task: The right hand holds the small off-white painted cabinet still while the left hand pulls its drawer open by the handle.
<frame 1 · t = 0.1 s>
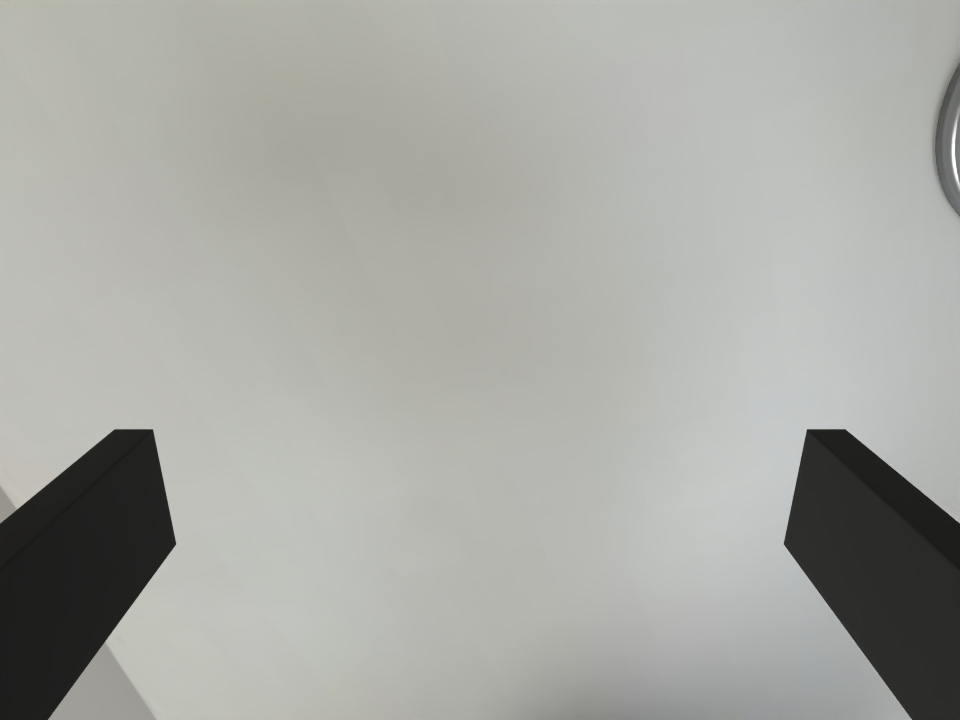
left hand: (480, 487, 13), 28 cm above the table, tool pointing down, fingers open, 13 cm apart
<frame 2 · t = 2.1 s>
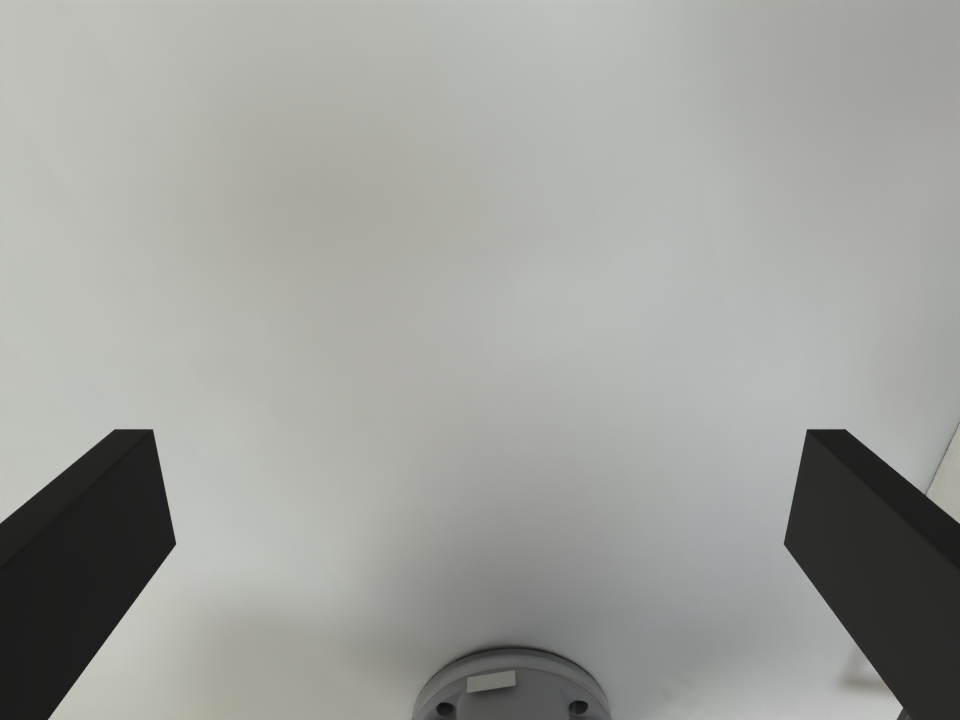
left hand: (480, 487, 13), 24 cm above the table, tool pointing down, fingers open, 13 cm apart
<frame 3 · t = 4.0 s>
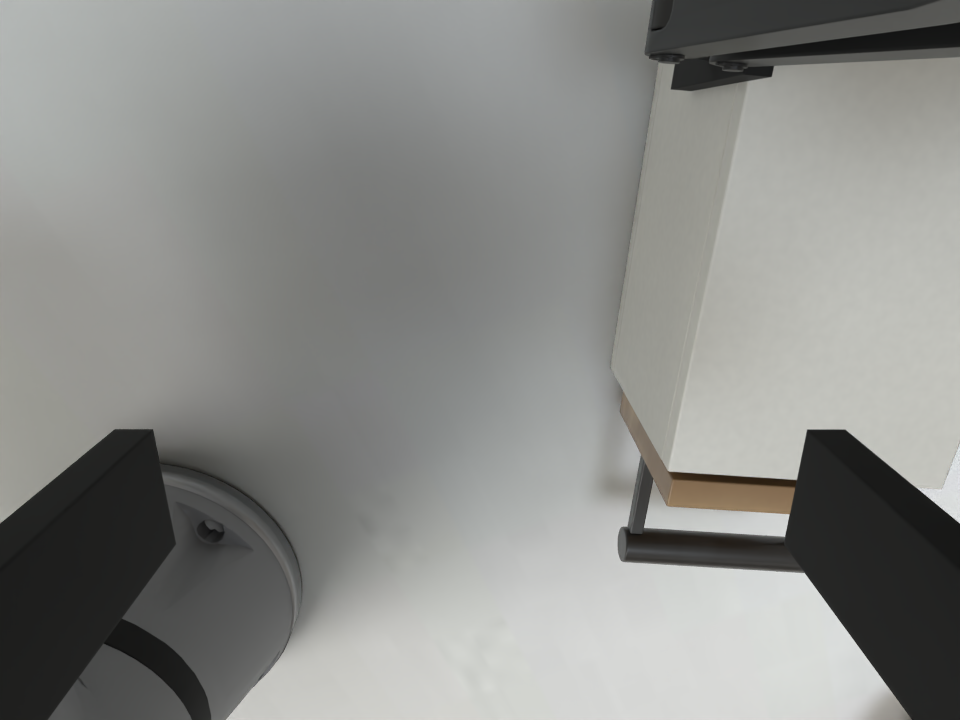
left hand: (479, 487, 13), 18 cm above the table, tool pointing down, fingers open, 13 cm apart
drawer: (765, 345, 26), point 5 cm above the table, slide at 0.8 cm
cabinet: (745, 196, 29), on the table, touching right hand
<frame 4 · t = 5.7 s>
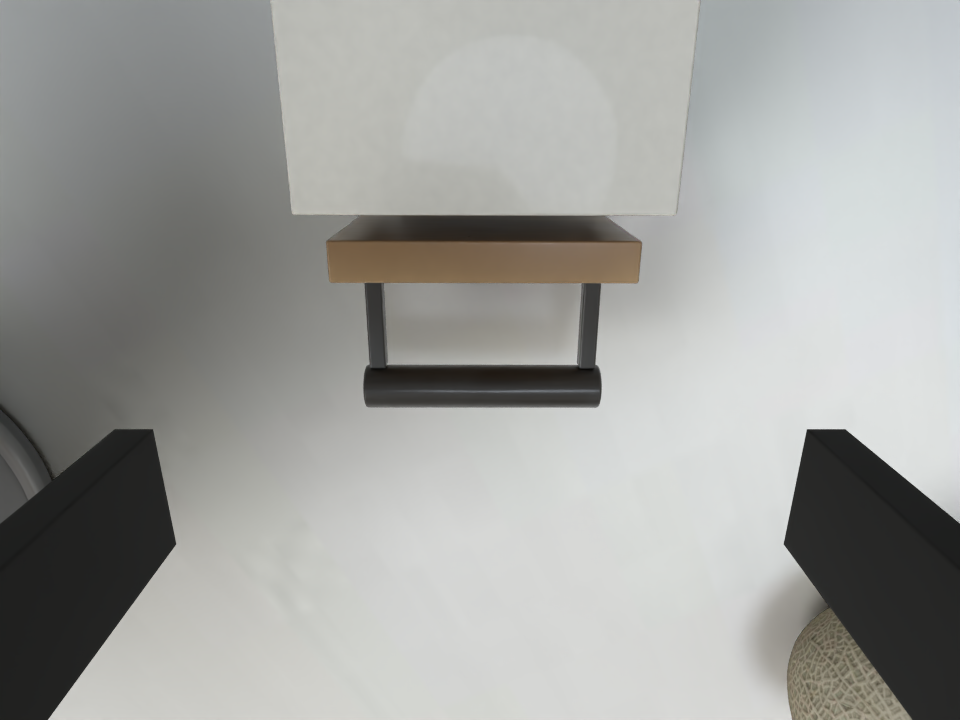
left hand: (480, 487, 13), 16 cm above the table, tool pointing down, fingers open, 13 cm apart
drawer: (483, 85, 20), point 5 cm above the table, slide at 0.8 cm
fruit: (844, 634, 34), on the table
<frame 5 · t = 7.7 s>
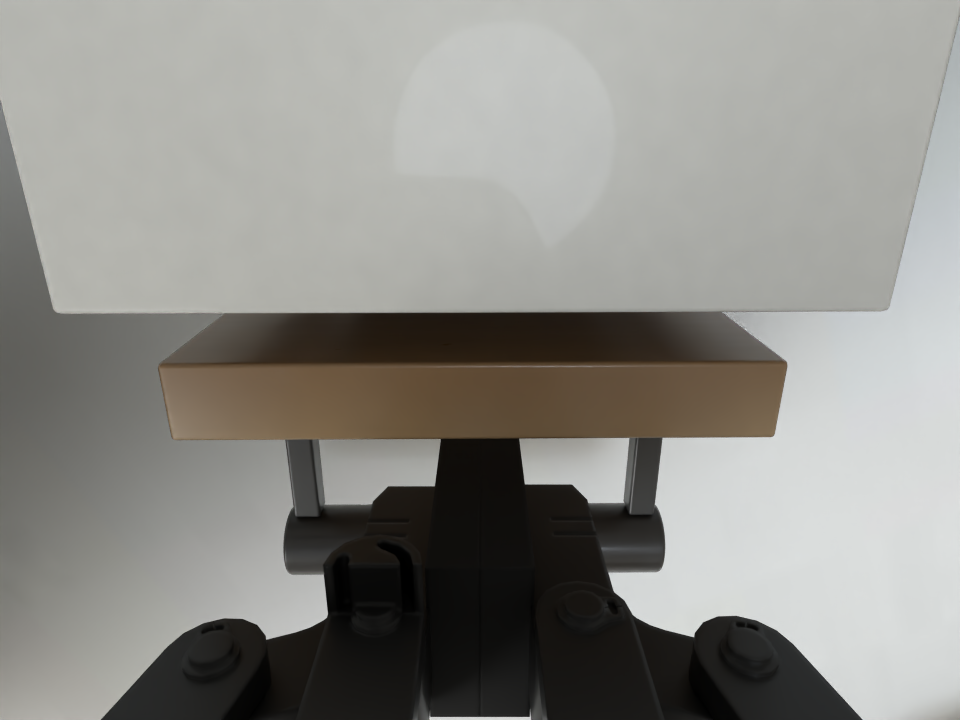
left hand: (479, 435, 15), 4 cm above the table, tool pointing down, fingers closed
drawer: (473, 58, 11), point 5 cm above the table, slide at 1.0 cm
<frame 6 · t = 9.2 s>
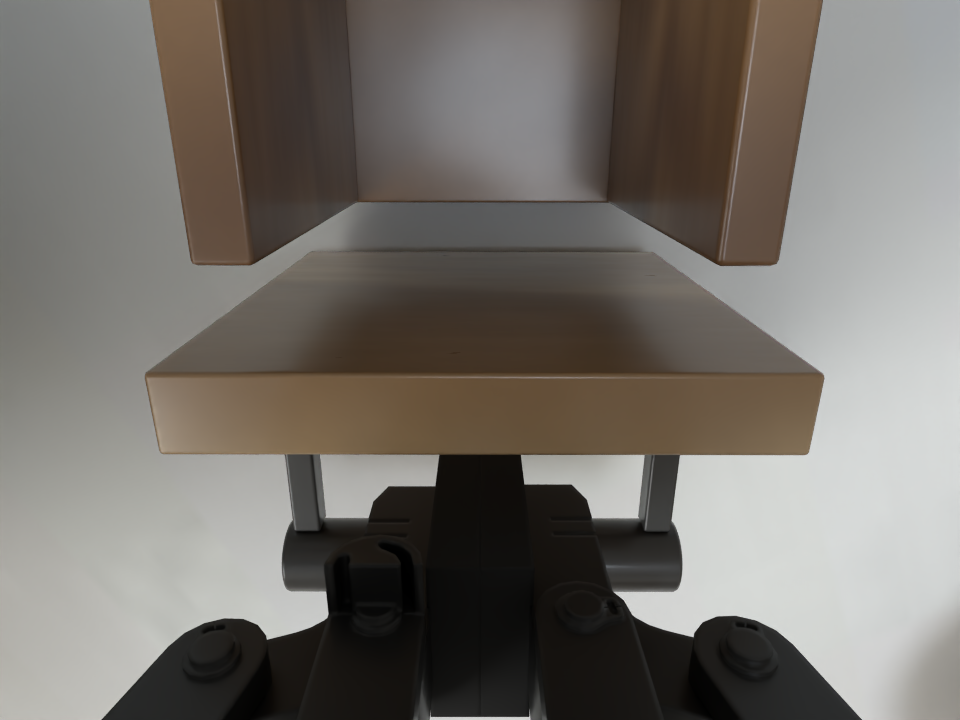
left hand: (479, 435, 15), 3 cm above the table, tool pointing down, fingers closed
drawer: (484, 49, 10), point 5 cm above the table, slide at 8.0 cm, touching left hand
when the right hand's fingers open (5 cm above the table, at t = 11.0 s): cabinet stays where it is, on the table.
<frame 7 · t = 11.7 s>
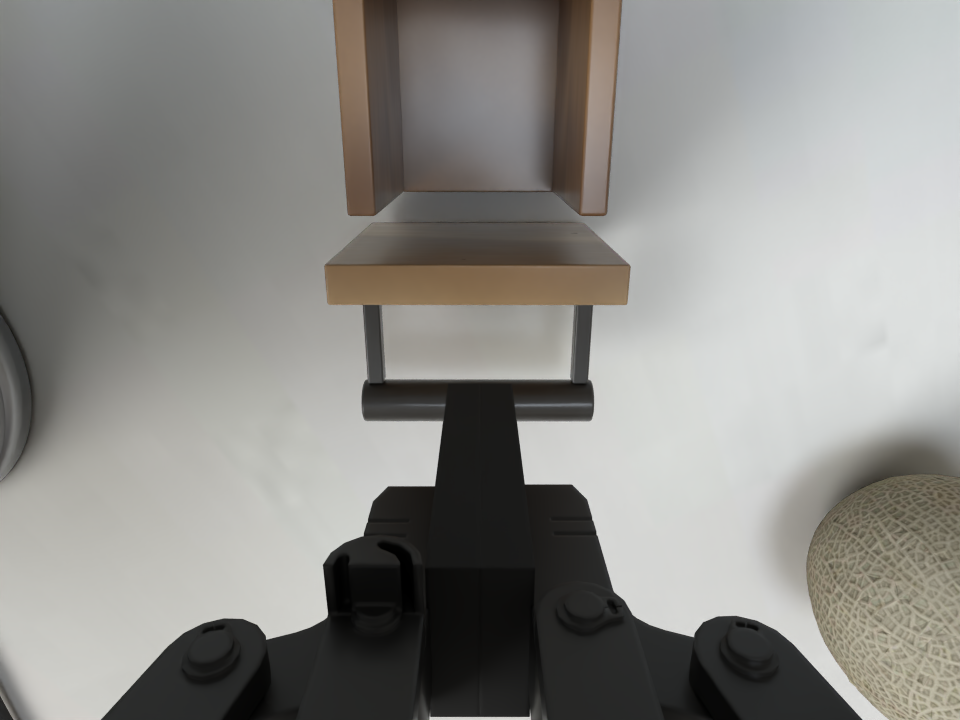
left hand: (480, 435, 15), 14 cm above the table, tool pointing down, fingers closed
drawer: (477, 111, 20), point 5 cm above the table, slide at 8.0 cm
fruit: (866, 530, 32), on the table
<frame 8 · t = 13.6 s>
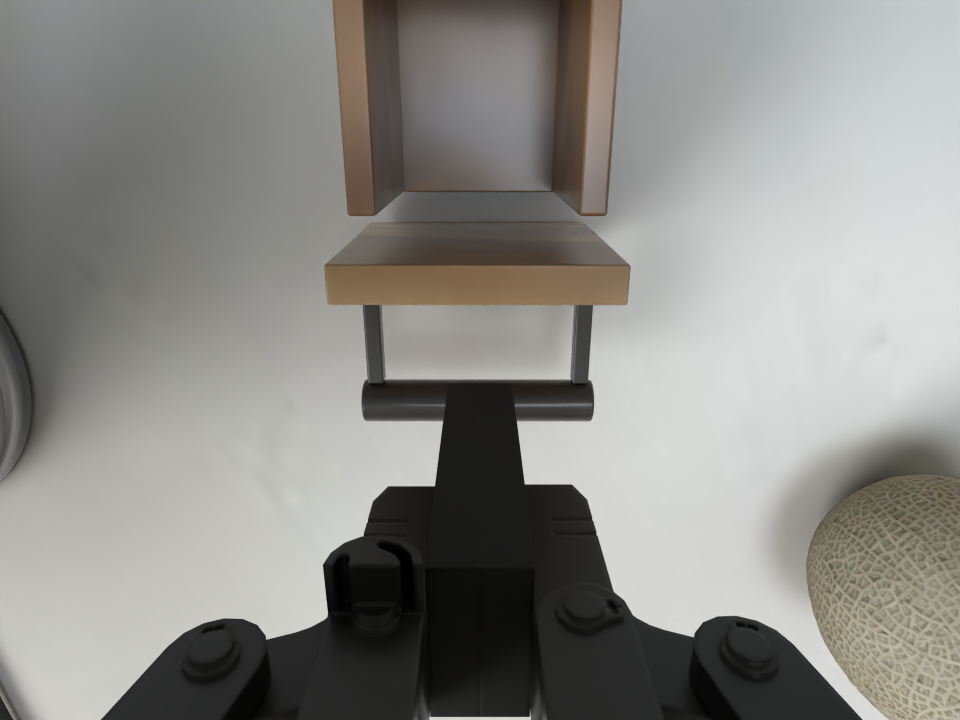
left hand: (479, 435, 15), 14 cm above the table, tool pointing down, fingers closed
drawer: (477, 111, 20), point 5 cm above the table, slide at 8.0 cm
fruit: (866, 530, 32), on the table
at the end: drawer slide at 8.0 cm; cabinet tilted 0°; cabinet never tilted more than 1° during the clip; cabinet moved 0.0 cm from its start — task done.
